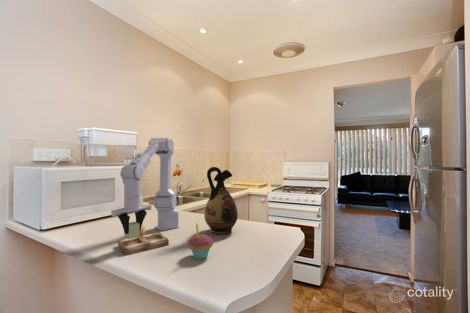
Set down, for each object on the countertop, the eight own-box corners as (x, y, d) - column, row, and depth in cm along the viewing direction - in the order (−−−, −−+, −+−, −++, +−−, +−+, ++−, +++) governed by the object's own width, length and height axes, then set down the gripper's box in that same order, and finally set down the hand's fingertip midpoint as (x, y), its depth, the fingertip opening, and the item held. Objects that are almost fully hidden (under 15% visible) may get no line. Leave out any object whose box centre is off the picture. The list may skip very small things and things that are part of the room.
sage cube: (134, 234, 91) (134, 221, 91) (139, 236, 88) (139, 223, 88) (124, 236, 88) (124, 223, 88) (129, 239, 85) (129, 225, 85)
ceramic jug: (229, 224, 118) (229, 165, 118) (243, 233, 104) (242, 166, 104) (197, 229, 110) (196, 166, 111) (207, 239, 96) (206, 167, 97)
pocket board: (159, 237, 99) (159, 232, 99) (168, 244, 90) (168, 239, 90) (118, 245, 90) (118, 240, 90) (124, 255, 81) (124, 248, 81)
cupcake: (201, 263, 74) (201, 226, 74) (182, 257, 78) (182, 222, 78) (217, 254, 81) (217, 219, 81) (199, 249, 86) (199, 216, 86)
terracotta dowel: (143, 236, 101) (143, 224, 101) (146, 238, 98) (145, 226, 98) (133, 238, 99) (133, 226, 99) (136, 240, 95) (136, 228, 96)
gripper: (145, 192, 96) (145, 225, 96) (107, 197, 85) (107, 234, 85) (154, 194, 91) (154, 228, 91) (115, 199, 80) (116, 238, 80)
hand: (132, 231), depth 88 cm, fingers closed on sage cube, 4 cm apart
